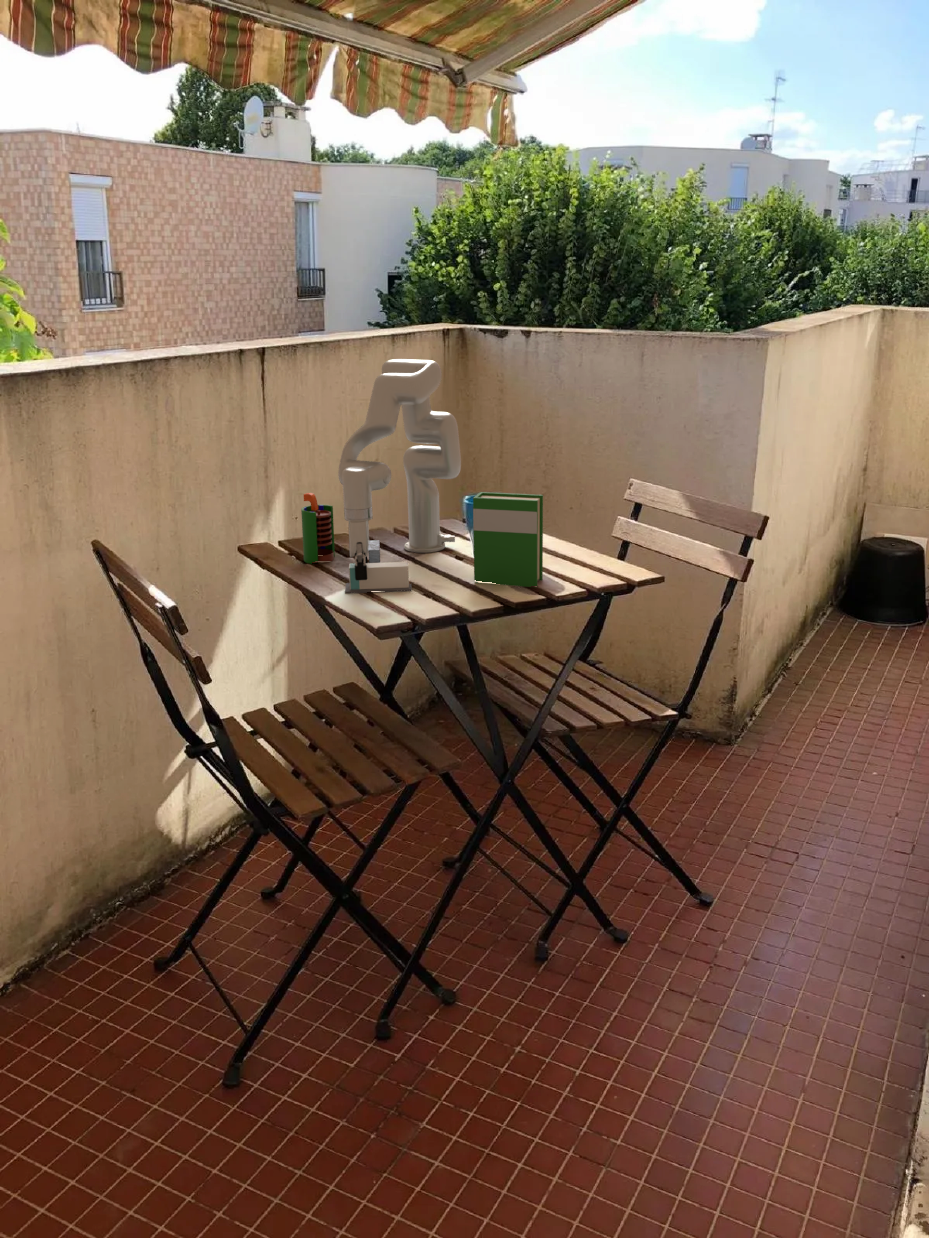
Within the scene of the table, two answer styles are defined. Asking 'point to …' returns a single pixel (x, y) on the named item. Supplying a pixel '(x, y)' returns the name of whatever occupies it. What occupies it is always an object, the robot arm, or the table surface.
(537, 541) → the hardback book
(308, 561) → the motor
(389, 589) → the mat
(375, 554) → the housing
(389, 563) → the white and teal box
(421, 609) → the table surface
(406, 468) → the robot arm
